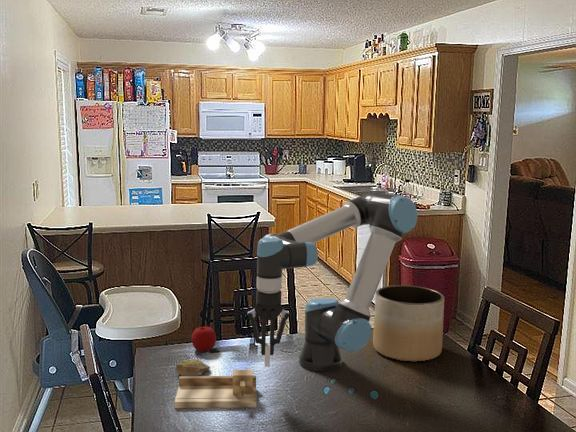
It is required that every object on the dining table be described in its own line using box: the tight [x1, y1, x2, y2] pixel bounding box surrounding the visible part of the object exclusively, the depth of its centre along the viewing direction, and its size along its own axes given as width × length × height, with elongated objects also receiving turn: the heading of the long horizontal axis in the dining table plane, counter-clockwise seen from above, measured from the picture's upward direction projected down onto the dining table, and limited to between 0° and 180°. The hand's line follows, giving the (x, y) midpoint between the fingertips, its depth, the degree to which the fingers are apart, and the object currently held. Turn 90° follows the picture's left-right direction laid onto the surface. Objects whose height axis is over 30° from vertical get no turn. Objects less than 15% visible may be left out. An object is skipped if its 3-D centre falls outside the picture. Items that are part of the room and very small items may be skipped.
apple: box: [191, 324, 217, 353], centre depth 214 cm, size 9×9×10 cm
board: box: [174, 375, 257, 409], centre depth 176 cm, size 24×12×4 cm, turn 94°
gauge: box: [232, 369, 254, 396], centre depth 175 cm, size 6×8×6 cm
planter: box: [372, 284, 445, 363], centre depth 216 cm, size 25×25×22 cm
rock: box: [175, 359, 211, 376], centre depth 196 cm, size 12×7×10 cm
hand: (267, 364), depth 176 cm, fingers closed
